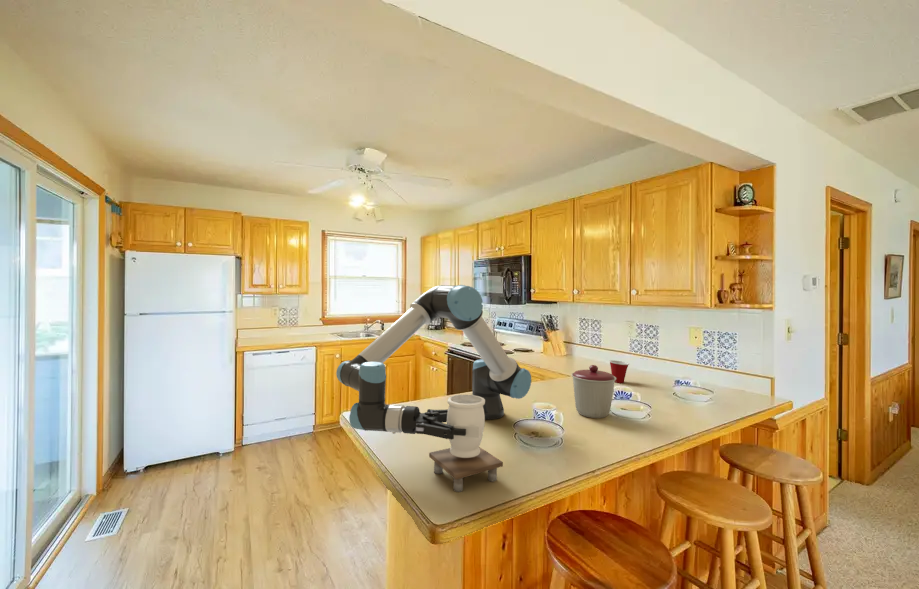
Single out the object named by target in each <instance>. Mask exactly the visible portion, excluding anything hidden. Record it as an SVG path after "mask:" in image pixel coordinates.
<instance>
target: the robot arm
mask: <svg viewBox="0 0 919 589" xmlns="http://www.w3.org/2000/svg"><path fill="white" fill-rule="evenodd" d="M483 308H484V305H483V298H482V295H481V294H480V292H479V291H478V290H477V289H476V288H474V287H473V286H469V285H465V284H458V285H457V284H455V285H447V284H441V285H440V284H439V285H436V286H433V287H432V288H430V289H428V290H427V291H425V292H423V293H422V294H420V296H419V297H417V298H416V299H415V300H414V301H413V302H412V303H411V304H410V305H409V309H408V310H407V311H406V312H405V313H404V314H402V316H400V317H399V318H398V319H397V320H395V322H393V323H392V324H391V325H390V326H389V327H388V328H386V330H384V331H383V332H382V333H381V334H380V335H379V336H378V337H377V338H375V340H373V341H372V342H371V343H370V344H369V345H367V347H366V348H364V349H363V350H362V351H360V352H359V354H357V355H356V356H355V357H354V358H353V359H352V360H345V361H342V362H341V363H340V364H339V365H338V367H337V368H336V373H335V374H336V378H337V381H339V382H340V383H341V384H343V385H344V386H345V387H350V388H352V389H353V390H355V391H358V402H355V403H353V405H352V407H350V414H349V418H348V419H349V420H348V421H349V425H350V427H352V429H355V430H361V431H367V432H368V431H369V432H370V431H372V432H384V433H385V432H387V433H388V432H389V433H392V434H396V433H398V434H399V433H400V434H401V433H403V434H407V435H408V434H409V435H410V434H411V435H415V434H418V435H425V436H432V437H435V438H441V439H444V440H445V439H446V440H449V439H451V440H452V439H454V436H463V437H475V438H479V427H478V426H463V425H455V426H451V425H448V424H447V412H448V408H447V409H427V410H426V411H425V412H421V411H420V407H418V406H413V405H406V406H405V405H402V404H387V403H386V385H387V384H386V383H387V382H386V381H387V380H386V379H387V374H386V365H385V362H386V361H387V360H388V359H389V358H390V357H391V356H392V355H393V354H394V353H395V352H397V351H398V350H399V349H400V348H401V347H402V346H403V345H404V344H405V343H406V342H407V341H408V340H409V339H411V337H413V336H414V335H415V334H416V333H417V332H418V331H419V330H420V329H421V328H422V327H423V326H425V325H429V324H431V322H433V321H434V320H437V319H440V318H443V319H448V320H449V322H450V323H451V324H452V326H453V328H454V329H455V330H457V331H462V332H463V334H464V335H465V337H466V338H467V339H468V341H469V343H470V344H471V345H472V347H473V349H475V351H476V352H477V353H478V355H479V356H480V359H476V360H475V361H474V362H473V364H472V394H471V395H475V396H479V397H482V398H484V399H485V404H484V405H483V409H484V415H485V420H496V419H501V418H502V417H504V415H505V414H504V413H505V409H504V408H505V407H504V405H503V401H502V398H501V395H503V396H506V397H510V398H512V399H516V400H517V399H518V400H520V399H522V398H524V397H525V396H527V394H528V393H529V391H530V388H531V385H532V374H531V372H530V371H529V370H528V369H526V368H522V367H520V365H519V364H518V362H517V360H516V359H514V358H513V357H509V355H508V354H507V353H506V351H505V350H504V348H503V346H502V345H501V343H500V342H499V340H498V339H497V337H496V336H495V334H494V333H493V331H492V330H491V329H490V327H489V325H488V324H487V322H486V320H485V319H484V318H483V314H484V310H483Z"/></svg>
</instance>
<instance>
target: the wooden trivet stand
mask: <svg viewBox="0 0 919 589" xmlns="http://www.w3.org/2000/svg"><path fill="white" fill-rule="evenodd" d="M450 448H451V447H449V448H444V449H439V450H436V451H431V452H428V456H429V458H430V459H431V460H432V461H433V463H434V464H433V465H434V466H433V468H434V469H433V472H434V474H436V475H441V474H443V470H444V471H445V472H446V473H447V474H448V475H449V476H450V477H452V478H453V492H456V493H461V492H463V490H464V478H466V477H469V476H474V475H478V474H481V473H484V472H487V480H488V481H489V482H492V483H494V482H496V481H497V478H498V477H497V475H498V474H497V472H498V468H502V467H504V466H503V465H504V462H503V461H502V460H501V459H499V458H497V457H495V456H494V455H493V454H491V453H489V452H488V451H487V450H485V449H483V448H482V447H480V446H479V449H480V454H479V455H477V456H475V457H471V458H461V457H457V456H454V455H452V454H451V452H450Z"/></svg>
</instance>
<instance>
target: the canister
mask: <svg viewBox="0 0 919 589" xmlns="http://www.w3.org/2000/svg"><path fill="white" fill-rule="evenodd" d="M588 367H589V369H579V370H576V371H574V372H572V373H571V374H570V375H571V377H572V382H573V383H572V384H573V392H574V393H573V394H574V395H573V396H574V403H575V409H576V412H577V413H578V414H579V415H582V416H584V417H586V418H591V419H592V418H593V419H603V418H606V417H607V416H608V415H609V414H610V412H611V407H612V402H613V395H614V388H615V382H614V381H615V380H616V377H615V376H613V375H612V373H610V372H607V371H603V370H599V367H598V366H597V365H596V364H591V365H590V366H588Z"/></svg>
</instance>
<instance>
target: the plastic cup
mask: <svg viewBox="0 0 919 589" xmlns="http://www.w3.org/2000/svg"><path fill="white" fill-rule="evenodd" d="M608 362H609V366H610V371H611V373H610V374H612V375H613V376H615V377H616V380H615V381H614V384H615V383H616V384H624V382H625V379H626V375H627V370H628V367H629V365H630V363H628V362H625V361H622V360H613V359H610V360H609V361H608Z"/></svg>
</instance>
